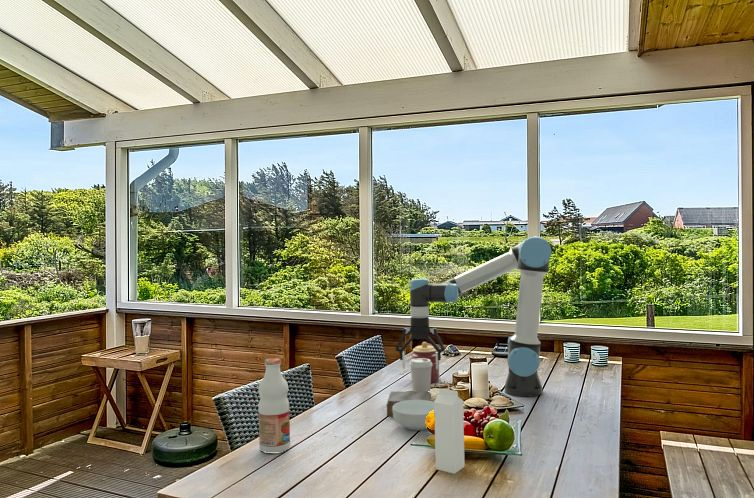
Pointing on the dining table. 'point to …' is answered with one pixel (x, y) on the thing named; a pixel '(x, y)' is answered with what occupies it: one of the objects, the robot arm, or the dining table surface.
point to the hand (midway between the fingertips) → (420, 368)
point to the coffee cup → (421, 374)
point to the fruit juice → (273, 409)
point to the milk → (449, 431)
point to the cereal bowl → (412, 413)
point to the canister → (427, 353)
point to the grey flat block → (405, 398)
